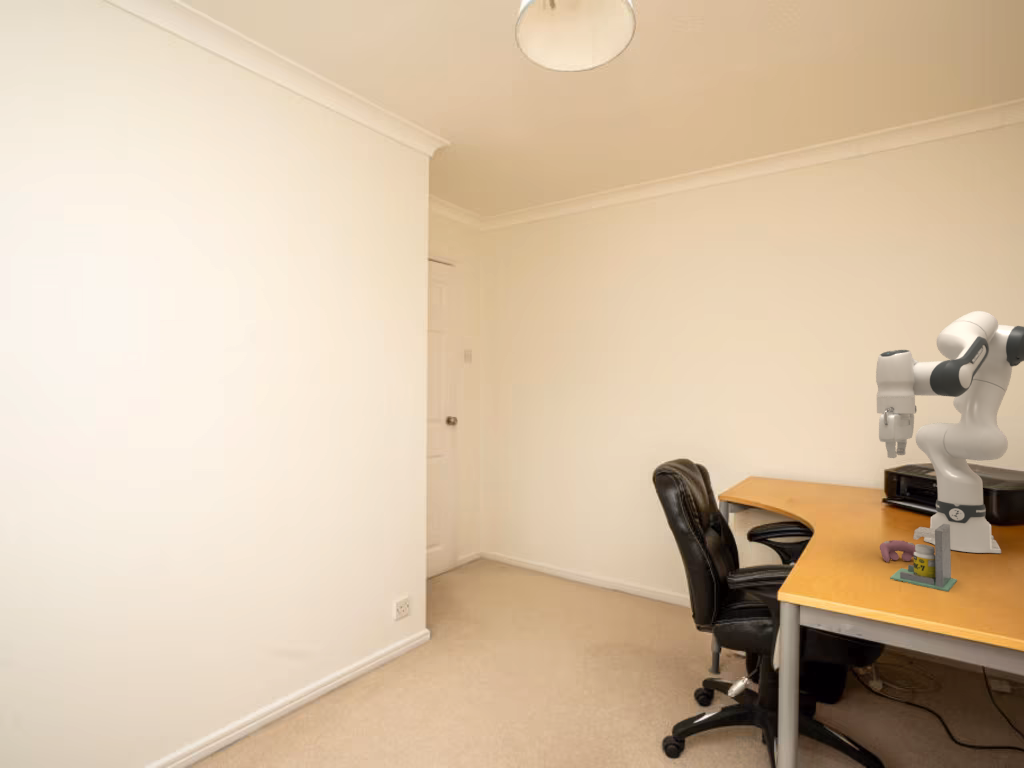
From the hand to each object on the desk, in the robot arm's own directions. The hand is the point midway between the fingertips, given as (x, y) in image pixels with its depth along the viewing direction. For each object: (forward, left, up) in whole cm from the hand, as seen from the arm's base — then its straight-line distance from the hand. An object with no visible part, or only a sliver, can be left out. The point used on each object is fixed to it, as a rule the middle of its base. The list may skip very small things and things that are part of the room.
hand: (896, 456), depth 150 cm
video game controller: (-7, -1, -31) cm, 32 cm away
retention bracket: (+8, +7, -31) cm, 33 cm away
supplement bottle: (+7, +7, -31) cm, 33 cm away
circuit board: (+8, +7, -31) cm, 33 cm away
